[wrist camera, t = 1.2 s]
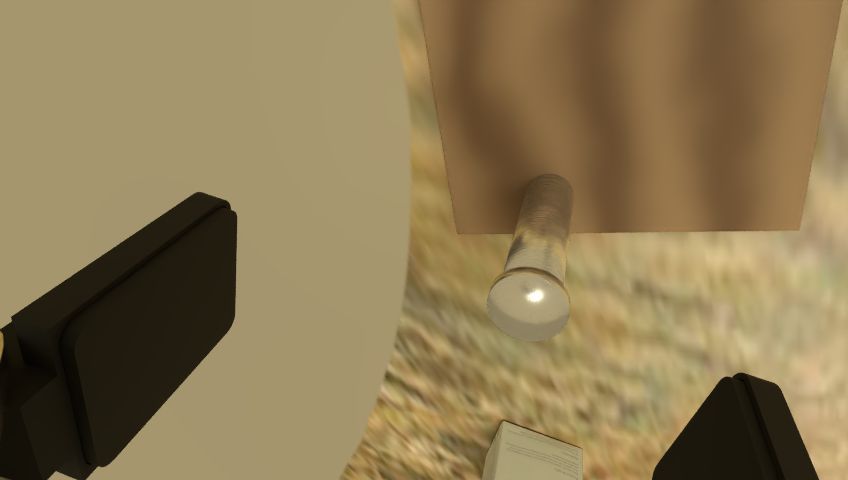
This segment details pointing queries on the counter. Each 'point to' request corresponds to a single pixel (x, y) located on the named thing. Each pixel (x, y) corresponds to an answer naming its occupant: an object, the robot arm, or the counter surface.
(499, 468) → the skincare box
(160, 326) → the robot arm
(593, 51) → the hinge board
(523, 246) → the hinge pin
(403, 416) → the counter surface
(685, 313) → the counter surface
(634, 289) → the counter surface
